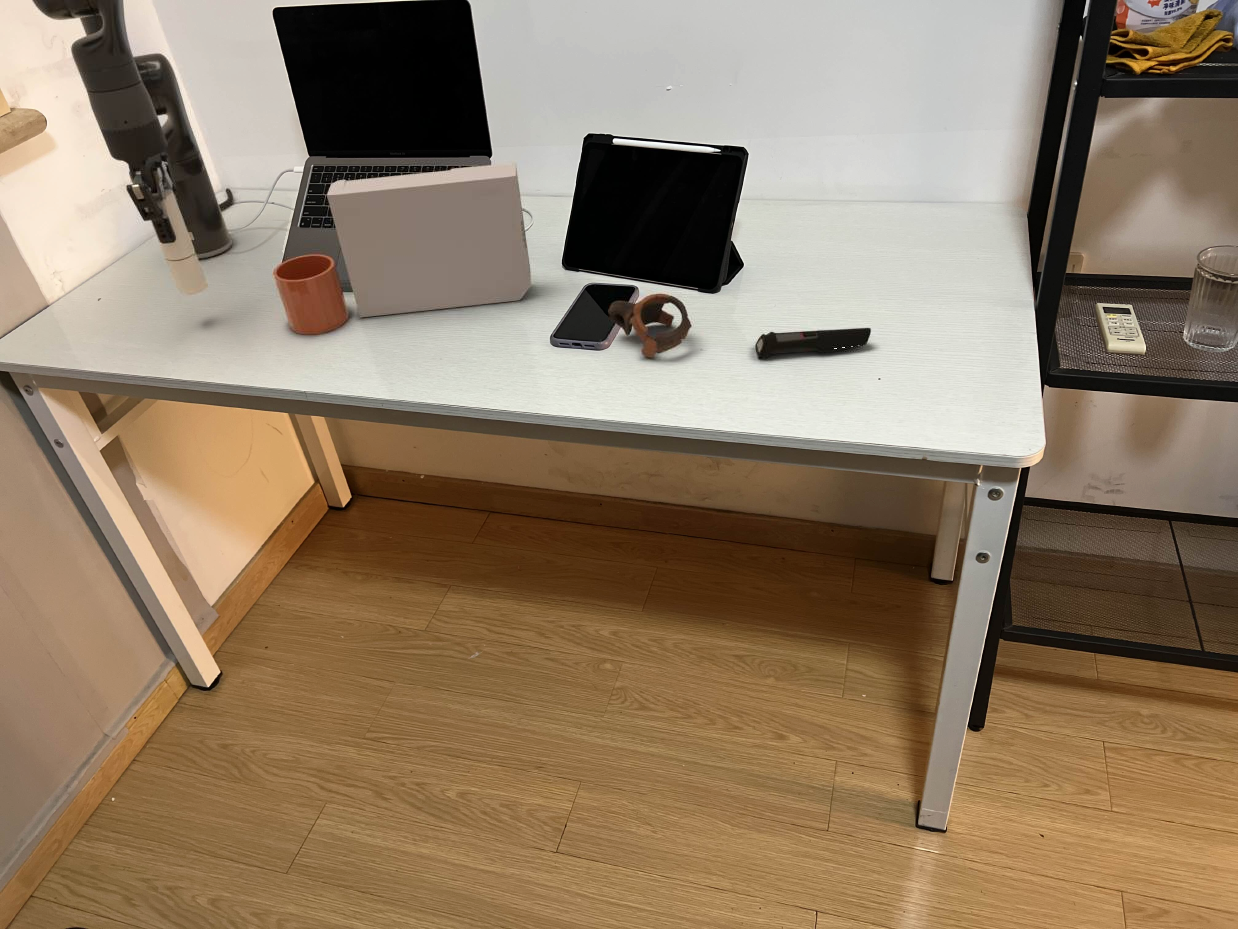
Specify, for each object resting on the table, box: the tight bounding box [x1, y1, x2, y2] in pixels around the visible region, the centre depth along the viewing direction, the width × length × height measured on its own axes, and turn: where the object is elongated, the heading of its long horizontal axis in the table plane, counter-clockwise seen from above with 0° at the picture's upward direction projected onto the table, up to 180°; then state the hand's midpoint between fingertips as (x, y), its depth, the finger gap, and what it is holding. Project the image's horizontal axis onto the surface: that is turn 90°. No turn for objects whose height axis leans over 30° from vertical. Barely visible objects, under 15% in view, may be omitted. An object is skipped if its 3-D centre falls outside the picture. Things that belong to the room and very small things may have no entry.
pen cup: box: [272, 253, 350, 336], centre depth 141 cm, size 9×9×9 cm
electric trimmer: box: [754, 327, 872, 360], centre depth 127 cm, size 4×16×3 cm, turn 91°
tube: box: [149, 189, 209, 296], centre depth 138 cm, size 4×4×15 cm
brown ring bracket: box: [607, 293, 693, 359], centre depth 131 cm, size 12×10×8 cm
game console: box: [326, 161, 532, 318], centre depth 141 cm, size 6×27×20 cm, turn 96°
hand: (172, 234), depth 137 cm, fingers closed on tube, 4 cm apart
